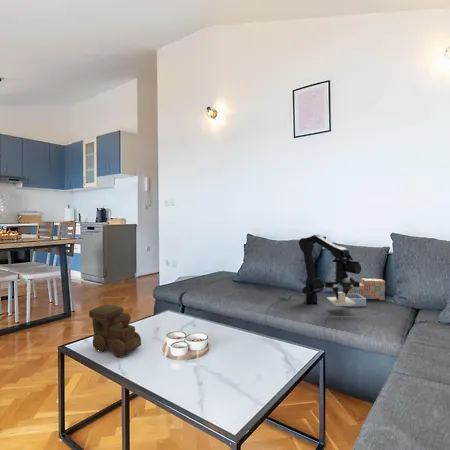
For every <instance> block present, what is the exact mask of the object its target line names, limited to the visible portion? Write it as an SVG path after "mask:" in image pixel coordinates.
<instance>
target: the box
mask: <svg viewBox="0 0 450 450" xmlns="http://www.w3.org/2000/svg"><path fill="white" fill-rule="evenodd" d="M346 297H347V298H356V299H351V300H352V301H354V302H355V303H356V304H352V305H349V306H346V307H367V299H366V298H364V297H362V296H361V295H359V294H347V295H346Z"/></svg>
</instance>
